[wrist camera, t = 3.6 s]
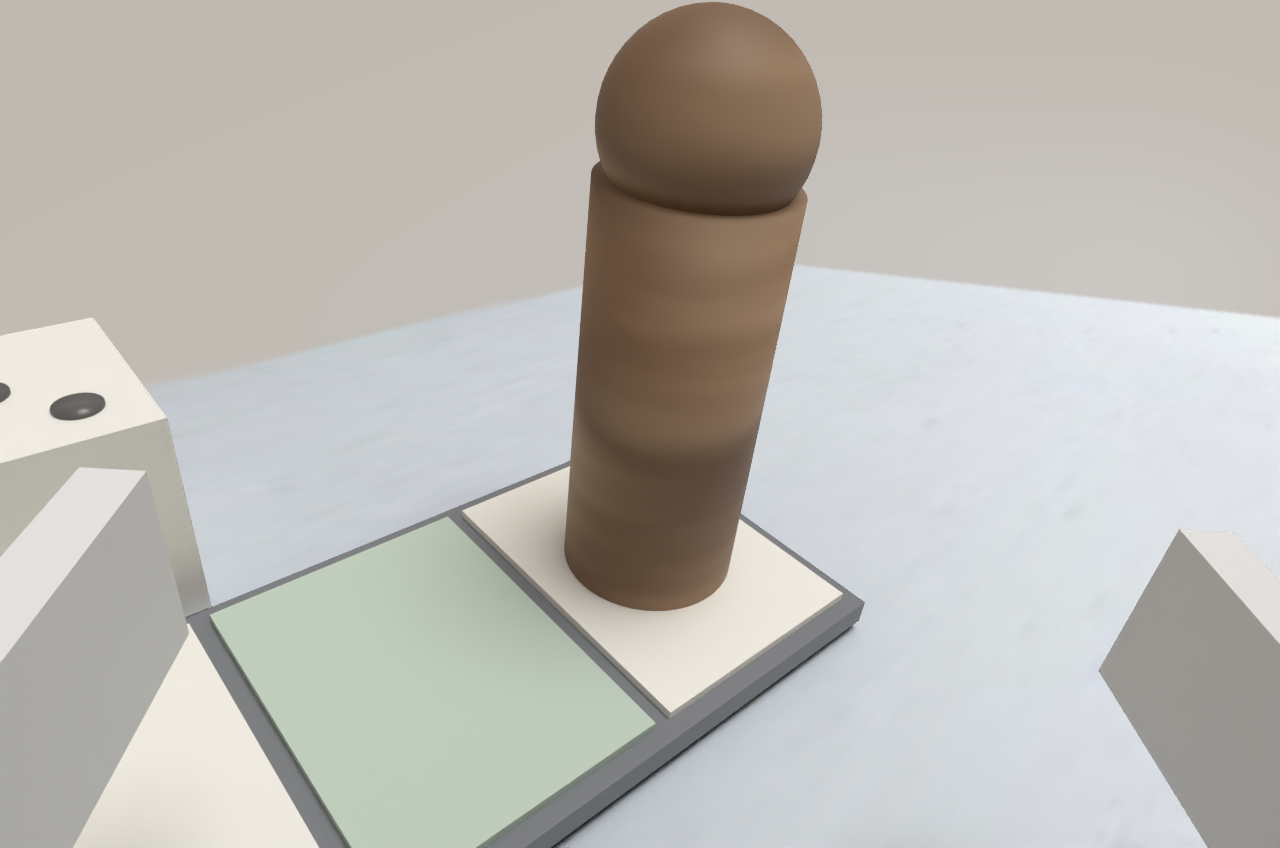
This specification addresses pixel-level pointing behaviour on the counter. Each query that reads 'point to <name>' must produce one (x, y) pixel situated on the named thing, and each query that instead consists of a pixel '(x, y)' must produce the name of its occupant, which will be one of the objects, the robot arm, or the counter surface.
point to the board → (449, 689)
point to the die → (86, 436)
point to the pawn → (683, 295)
